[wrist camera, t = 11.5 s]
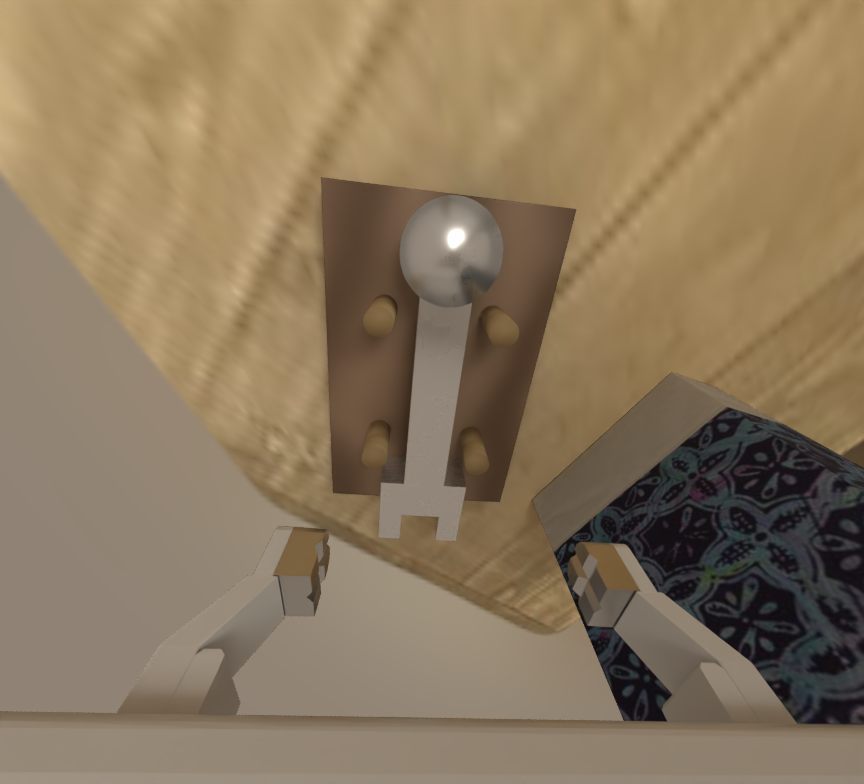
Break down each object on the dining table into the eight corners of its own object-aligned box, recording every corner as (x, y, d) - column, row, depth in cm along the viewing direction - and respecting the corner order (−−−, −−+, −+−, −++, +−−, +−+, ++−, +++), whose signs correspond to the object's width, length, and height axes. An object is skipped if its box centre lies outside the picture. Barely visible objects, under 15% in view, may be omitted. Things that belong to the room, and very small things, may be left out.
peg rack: (565, 210, 20) (608, 205, 15) (496, 489, 30) (509, 536, 25) (328, 180, 19) (299, 166, 14) (337, 480, 28) (321, 527, 24)
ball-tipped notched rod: (397, 193, 18) (394, 187, 15) (506, 206, 18) (521, 203, 16) (382, 507, 28) (378, 537, 25) (452, 511, 28) (455, 541, 26)
